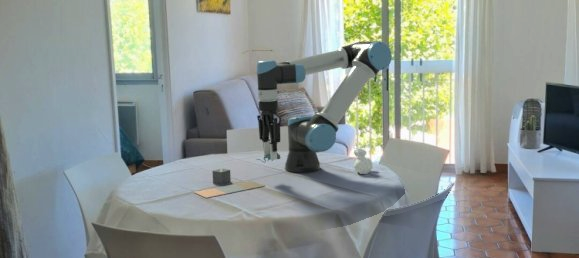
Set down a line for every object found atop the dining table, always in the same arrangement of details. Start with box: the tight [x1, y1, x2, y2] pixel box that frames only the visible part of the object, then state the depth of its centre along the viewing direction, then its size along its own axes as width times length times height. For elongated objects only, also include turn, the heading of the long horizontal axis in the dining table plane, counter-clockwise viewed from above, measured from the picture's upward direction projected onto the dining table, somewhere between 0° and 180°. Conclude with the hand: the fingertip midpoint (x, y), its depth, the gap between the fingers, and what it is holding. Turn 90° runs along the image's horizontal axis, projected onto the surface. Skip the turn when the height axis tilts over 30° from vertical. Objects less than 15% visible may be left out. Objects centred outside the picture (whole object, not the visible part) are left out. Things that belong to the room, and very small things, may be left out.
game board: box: [193, 180, 266, 199], centre depth 216 cm, size 26×10×1 cm, turn 126°
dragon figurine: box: [256, 152, 281, 163], centre depth 225 cm, size 7×7×8 cm
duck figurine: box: [353, 147, 373, 175], centre depth 238 cm, size 12×8×11 cm
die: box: [212, 168, 232, 185], centre depth 227 cm, size 5×5×5 cm
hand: (270, 158), depth 226 cm, fingers closed on dragon figurine, 4 cm apart
